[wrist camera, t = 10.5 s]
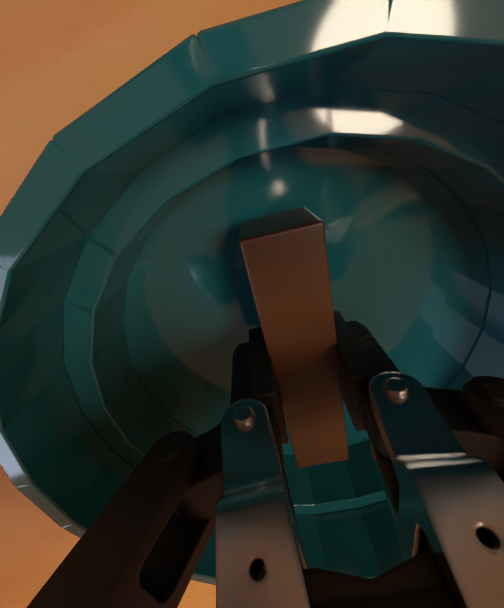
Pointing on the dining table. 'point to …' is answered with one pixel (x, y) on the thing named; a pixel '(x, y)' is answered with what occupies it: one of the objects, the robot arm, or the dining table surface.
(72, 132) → the bowl
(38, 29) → the dining table surface
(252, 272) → the stick
